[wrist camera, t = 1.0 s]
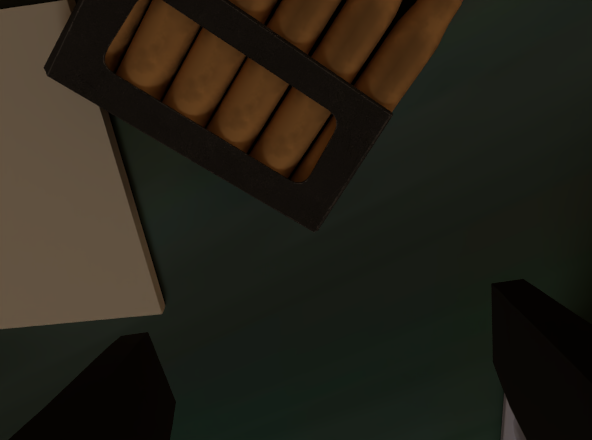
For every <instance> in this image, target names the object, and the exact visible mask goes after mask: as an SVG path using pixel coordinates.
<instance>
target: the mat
mask: <svg viewBox="0 0 592 440" xmlns="http://www.w3.org/2000/svg"><path fill="white" fill-rule="evenodd" d="M75 5H76V3H75V0H62V1H55V2H48V3H41V4H34V5H27V6H20V7H13V8H7V9H0V329H6V328H17V327H27V326H38V325H49V324H59V323H70V322H81V321H91V320H102V319H113V318H124V317H134V316H145V315H156V314H162V313H163V310H164V308H165V303H164V300H163V296H162V293H161V289H160V286H159V283H158V279H157V276H156V273H155V269H154V266H153V262H152V259H151V256H150V252H149V249H148V246H147V242H146V239H145V235H144V232H143V229H142V225H141V222H140V219H139V215H138V212H137V208H136V205H135V202H134V198H133V195H132V192H131V188H130V185H129V181H128V178H127V175H126V171H125V168H124V165H123V161H122V158H121V154H120V151H119V148H118V144H117V141H116V138H115V134H114V131H113V127H112V124H111V121H110V117H109V114H108V111H106V110H104V109H103V108H101V107H99V106H97V105H96V104H94V103H92V102H91V101H89V100H87V99H85V98H84V97H82V96H80V95H79V94H77V93H75V92H73V91H72V90H70V89H68V88H67V87H65V86H63V85H62V84H60V83H58V82H56V81H55V80H53V79H51V78H50V77H48V76H47V75H46V72H45V70H44V68H43V67H44V65H45V63H46V62H47V60H48V58H49V56H50V54H51V52H52V50H53V48H54V46H55V44H56V42H57V40H58V38H59V36H60V34H61V32H62V30H63V28H64V26H65V25H66V23H67V21H68V19H69V17H70V15H71V13H72V11H73V9H74V7H75Z"/></svg>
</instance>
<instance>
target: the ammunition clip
mask: <svg viewBox="0 0 592 440" xmlns="http://www.w3.org/2000/svg"><path fill="white" fill-rule="evenodd" d="M277 1H278V0H78V1H77V3H76V5H75V7H74V9H73V11H72V13H71V15H70V17H69V19H68V21H67V23H66V25H65V26H64V28H63V30H62V32H61V34H60V36H59V38H58V40H57V42H56V44H55V46H54V48H53V50H52V52H51V54H50V56H49V58H48V60H47V62H46V63H45V65H44V67H43V68H44V70H45V72H46V75H47V76H48V77H50V78H51V79H53V80H55V81H56V82H58V83H60V84H62V85H63V86H65V87H67V88H68V89H70V90H72V91H73V92H75V93H77V94H79V95H80V96H82V97H84V98H85V99H87V100H89V101H91V102H92V103H94V104H96V105H97V106H99V107H101V108H103V109H104V110H106V111H108V112H109V113H111V114H113V115H114V116H116V117H118V118H120V119H121V120H123V121H125V122H126V123H128V124H130V125H132V126H133V127H135V128H137V129H138V130H140V131H142V132H144V133H145V134H147V135H149V136H150V137H152V138H154V139H156V140H157V141H159V142H161V143H162V144H164V145H166V146H167V147H169V148H171V149H173V150H174V151H176V152H178V153H179V154H181V155H183V156H185V157H186V158H188V159H190V160H191V161H193V162H195V163H197V164H198V165H200V166H202V167H203V168H205V169H207V170H208V171H210V172H212V173H214V174H215V175H217V176H219V177H220V178H222V179H224V180H226V181H227V182H229V183H231V184H232V185H234V186H236V187H238V188H239V189H241V190H243V191H244V192H246V193H248V194H249V195H251V196H253V197H255V198H256V199H258V200H260V201H261V202H263V203H265V204H267V205H268V206H270V207H272V208H273V209H275V210H277V211H279V212H280V213H282V214H284V215H285V216H287V217H289V218H291V219H292V220H294V221H296V222H297V223H299V224H301V225H302V226H304V227H306V228H308V229H309V230H311V231H313V232H315V231H318V230H319V228H320V226H321V225H322V223H323V222H324V220H325V219H326V217H327V216H328V214H329V213H330V211H331V210H332V208H333V206H334V205H335V203H336V202H337V200H338V199H339V197H340V196H341V194H342V193H343V191H344V190H345V188H346V186H347V185H348V183H349V182H350V180H351V179H352V177H353V176H354V174H355V173H356V171H357V169H358V168H359V166H360V165H361V163H362V162H363V160H364V159H365V157H366V156H367V154H368V153H369V151H370V149H371V148H372V146H373V145H374V143H375V142H376V140H377V139H378V137H379V136H380V134H381V133H382V131H383V129H384V128H385V126H386V125H387V123H388V122H389V120H390V119H391V117H392V115H393V113H392V111H393V110H394V108H395V107H396V106H397V104H398V103H399V101H400V100H401V99H402V97H403V96H404V94H405V93H406V91H407V90H408V89H409V87H410V86H411V84H412V83H413V82H414V80H415V79H416V77H417V76H418V74H419V73H420V72H421V70H422V69H423V67H424V66H425V65H426V63H427V62H428V60H429V59H430V57H431V56H432V55H433V53H434V52H435V50H436V49H437V47H438V45H439V43H440V41H441V39H442V37H443V35H444V32H445V30H446V28H447V26H448V24H449V23H450V21H451V20H452V18H453V17H454V15H455V14H456V12H457V11H458V9H459V7H460V6H461V4H462V1H463V0H417V1H416V2H415V4H414V5H413V6H412V7H411V8H410V9H409V10H408V11H407V12H406V13H405V14H404V15H403V16H402V17H401V18H400V19H399V20H398V22H397V23H396V24H395V26H394V27H393V29H392V30H391V31H390V33H389V34H388V36H387V37H386V39H385V40H384V42H383V43H382V45H381V46H380V48H379V49H378V51H377V52H376V53H375V55H374V56H373V58H372V59H371V61H370V62H369V64H368V65H367V67H366V68H365V70H364V71H363V73H362V74H361V75H360V77H359V78H358V80H357V81H356V83H355V84H353V83H352V81H353V80H354V78H355V77H356V75H357V73H358V72H359V70H360V69H361V67H362V66H363V64H364V63H365V61H366V60H367V58H368V57H369V55H370V54H371V52H372V51H373V49H374V48H375V46H376V45H377V43H378V42H379V40H380V39H381V37H382V36H383V34H384V33H385V31H386V30H387V28H388V27H389V25H390V24H391V22H392V20H393V19H394V17H395V15H396V13H397V11H398V9H399V7H400V4H401V2H402V0H347V1H346V3H345V4H344V6H343V7H342V9H341V11H340V12H339V14H338V15H337V17H336V18H335V20H334V22H333V23H332V25H331V26H330V28H329V29H328V31H327V33H326V34H325V36H324V37H323V39H322V40H321V42H320V44H319V45H318V47H317V48H316V50H315V51H314V53H313V55H311V54H309V52H310V50H311V49H312V47H313V45H314V44H315V42H316V41H317V39H318V37H319V36H320V34H321V33H322V31H323V29H324V28H325V26H326V24H327V23H328V21H329V20H330V18H331V16H332V15H333V13H334V11H335V10H336V8H337V7H338V5H339V3H340V2H341V0H282V1H281V2H280V4H279V6H278V7H277V9H276V11H275V12H274V14H273V16H272V18H271V19H270V21H269V23H268V24H266V23H265V22H266V20H267V19H268V17H269V15H270V13H271V12H272V10H273V8H274V6H275V5H276V3H277ZM150 3H151V4H150ZM149 4H150V6H149V8H148V10H147V12H146V14H145V16H144V18H143V20H142V22H141V24H140V26H139V28H138V30H137V32H136V34H135V36H134V38H133V40H132V42H131V44H130V46H129V48H128V50H127V52H126V54H125V56H124V58H123V60H122V57H123V55H124V53H125V51H126V49H127V47H128V45H129V43H130V41H131V39H132V37H133V35H134V32H135V30H136V28H137V26H138V24H139V22H140V20H141V18H142V16H143V14H144V12H145V10H146V8H147V7H148V5H149ZM200 26H202V27H203V28H202V29H201V31H200V33H199V35H198V37H197V38H196V40H195V42H194V44H193V46H192V48H191V49H190V51H189V53H188V55H187V57H186V59H185V60H184V62H183V64H182V66H181V68H180V70H179V71H178V73H177V75H176V77H175V79H174V80H173V82H172V84H171V86H170V88H169V90H168V91H167V88H168V86H169V84H170V83H171V81H172V79H173V77H174V75H175V73H176V71H177V69H178V68H179V66H180V64H181V62H182V60H183V58H184V56H185V54H186V52H187V51H188V49H189V47H190V45H191V43H192V41H193V39H194V37H195V35H196V34H197V32H198V30H199V28H200ZM246 56H247V57H248V58H247V60H246V61H245V63H244V65H243V67H242V68H241V70H240V72H239V73H238V75H237V77H236V78H235V80H234V82H233V83H232V85H231V87H230V89H229V90H228V92H227V94H226V95H225V97H224V99H223V100H222V102H221V104H220V105H219V107H218V109H217V110H216V112H215V114H214V116H213V117H212V118H211V116H212V114H213V113H214V111H215V109H216V107H217V106H218V104H219V102H220V100H221V99H222V97H223V95H224V93H225V92H226V90H227V88H228V87H229V85H230V83H231V81H232V80H233V78H234V76H235V74H236V73H237V71H238V69H239V67H240V66H241V64H242V62H243V60H244V59H245V57H246ZM289 85H291V86H292V88H291V89H290V91H289V92H288V94H287V95H286V97H285V99H284V100H283V102H282V103H281V105H280V106H279V108H278V110H277V111H276V113H275V114H274V116H273V117H272V119H271V121H270V122H269V124H268V125H267V127H266V128H265V130H264V132H263V133H262V135H261V136H260V138H259V139H258V141H257V143H256V144H255V145H254V144H253V143H254V141H255V139H256V138H257V136H258V134H259V133H260V131H261V130H262V128H263V126H264V125H265V123H266V121H267V120H268V118H269V117H270V115H271V113H272V112H273V110H274V109H275V107H276V105H277V104H278V102H279V100H280V99H281V97H282V96H283V94H284V92H285V91H286V89H287V88H288V86H289ZM330 114H331V118H330V121H329V122H328V124H327V125H326V127H325V128H324V130H323V131H322V133H321V134H320V136H319V137H318V139H317V140H316V142H315V143H314V144H313V146H312V147H311V149H310V150H309V152H308V153H307V155H306V156H305V158H304V159H303V161H302V162H301V164H300V165H299V167H298V168H295V167H296V166H297V164H298V163H299V161H300V160H301V158H302V156H303V155H304V153H305V152H306V150H307V149H308V147H309V146H310V144H311V143H312V141H313V140H314V138H315V137H316V135H317V134H318V132H319V131H320V129H321V128H322V126H323V125H324V123H325V122H326V120H327V119H328V117H329V116H330Z"/></svg>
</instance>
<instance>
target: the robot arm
mask: <svg viewBox="0 0 592 440" xmlns="http://www.w3.org/2000/svg"><path fill="white" fill-rule="evenodd" d="M491 285H492V334H493V363H494V366H495V369H496V371H497V374H498V377H499V380H500V382H501V385H502V388H503V390H504V401H503V415H502V428H501V440H592V324H590V323H588V322H587V321H585V320H584V319H582V318H581V317H579V316H578V315H576V314H575V313H573V312H572V311H570V310H569V309H567V308H566V307H564V306H563V305H561V304H560V303H558V302H557V301H555V300H554V299H552V298H551V297H549V296H548V295H546V294H545V293H543V292H542V291H540V290H539V289H537V288H536V287H534V286H533V285H531V284H530V283H528V282H527V281H525V280H524V279H521V280H513V281H506V282H499V283H492V284H491ZM175 404H176V401H175V399H174V396H173V394H172V391H171V389H170V386H169V384H168V381H167V379H166V376H165V374H164V371H163V369H162V366H161V364H160V361H159V359H158V356H157V354H156V351H155V349H154V346H153V344H152V341H151V339H150V336H149V334H148V332H146V333H139V334H132V335H125V336H121V337H119V338H118V339H117V340H116V341H115V342H113V343H112V344H111V345H110V346H109V347H108V348H107V349H106V350H105V351H103V352H102V353H101V354H100V355H99V356H98V357H97V358H96V359H95V360H94V361H93V362H92V363H91V364H90V365H89V366H88V367H87V368H85V369H84V370H83V371H82V372H81V373H80V374H79V375H78V376H77V377H76V378H75V379H74V380H73V381H72V382H71V383H70V384H69V385H68V386H67V387H66V388H65V389H63V390H62V391H61V392H60V393H59V394H58V395H57V396H56V397H55V398H54V399H53V400H52V401H51V402H50V403H49V404H48V405H47V406H46V407H44V408H43V409H42V410H41V411H40V412H39V413H38V414H37V415H36V416H34V417H33V418H32V419H31V420H30V421H29V422H28V423H27V424H25V425H24V426H23V427H22V428H21V429H20V430H19V431H18V432H16V433H15V434H14V435H13V436H12V437H11V438H10V439H9V440H170V435H171V430H172V424H173V417H174V411H175Z"/></svg>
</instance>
